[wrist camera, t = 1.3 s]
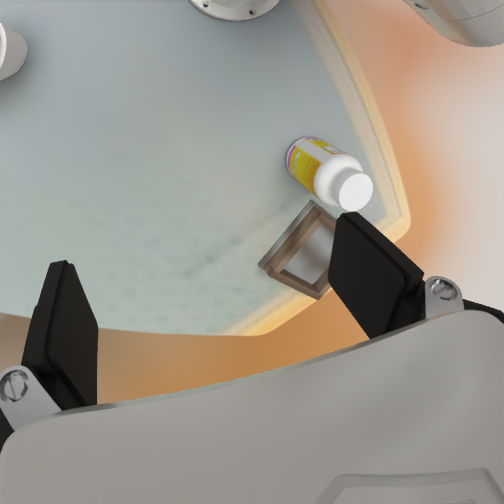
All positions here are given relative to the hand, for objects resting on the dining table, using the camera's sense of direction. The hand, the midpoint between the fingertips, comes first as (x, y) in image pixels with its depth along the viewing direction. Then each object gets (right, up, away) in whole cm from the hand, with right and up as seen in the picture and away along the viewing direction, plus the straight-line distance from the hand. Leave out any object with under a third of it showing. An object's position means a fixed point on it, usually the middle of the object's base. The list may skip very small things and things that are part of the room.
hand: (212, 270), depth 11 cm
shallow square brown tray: (+11, +1, +43) cm, 44 cm away
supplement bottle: (+9, +14, +34) cm, 37 cm away
